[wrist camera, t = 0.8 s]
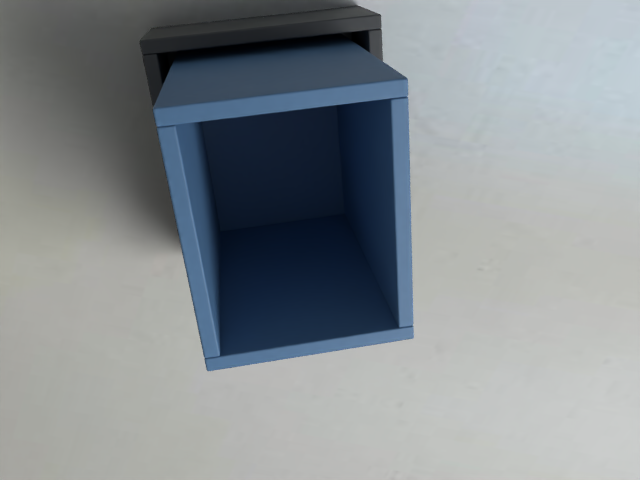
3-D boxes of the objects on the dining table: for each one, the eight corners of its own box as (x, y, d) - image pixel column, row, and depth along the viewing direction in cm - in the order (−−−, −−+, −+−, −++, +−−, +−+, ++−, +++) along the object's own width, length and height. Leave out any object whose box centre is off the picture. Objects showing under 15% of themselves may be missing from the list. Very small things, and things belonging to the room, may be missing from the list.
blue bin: (177, 50, 29) (151, 108, 18) (341, 32, 30) (408, 77, 19) (211, 237, 34) (207, 372, 23) (353, 217, 34) (414, 338, 24)
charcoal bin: (150, 28, 29) (139, 40, 25) (359, 5, 30) (381, 14, 26) (195, 254, 34) (191, 294, 30) (371, 229, 35) (391, 264, 31)
